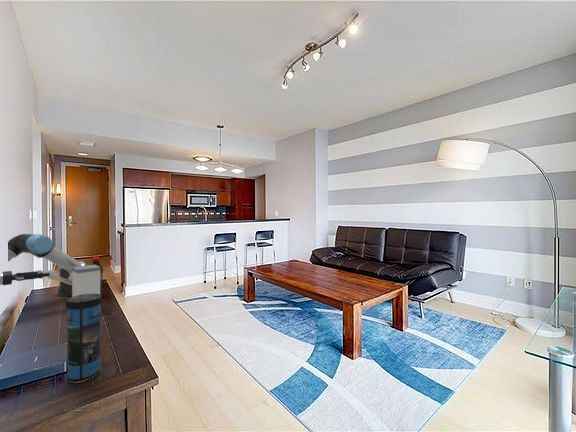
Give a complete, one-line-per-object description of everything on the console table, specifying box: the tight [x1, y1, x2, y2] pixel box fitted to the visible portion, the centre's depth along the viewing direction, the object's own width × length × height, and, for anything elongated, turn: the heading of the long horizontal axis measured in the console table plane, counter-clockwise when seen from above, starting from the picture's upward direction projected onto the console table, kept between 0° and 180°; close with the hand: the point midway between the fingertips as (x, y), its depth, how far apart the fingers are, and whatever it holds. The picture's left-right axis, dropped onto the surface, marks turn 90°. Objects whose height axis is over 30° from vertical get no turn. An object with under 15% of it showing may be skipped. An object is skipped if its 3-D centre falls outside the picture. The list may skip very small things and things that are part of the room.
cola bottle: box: [91, 256, 104, 297], centre depth 204 cm, size 8×8×30 cm
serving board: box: [37, 269, 72, 285], centre depth 179 cm, size 4×26×6 cm
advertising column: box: [65, 294, 103, 382], centre depth 109 cm, size 11×11×30 cm
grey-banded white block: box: [71, 264, 101, 297], centre depth 177 cm, size 12×12×28 cm
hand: (55, 272), depth 176 cm, fingers closed on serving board, 4 cm apart
